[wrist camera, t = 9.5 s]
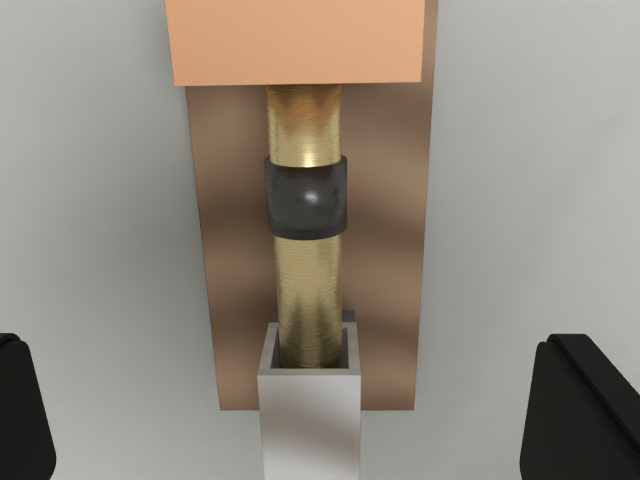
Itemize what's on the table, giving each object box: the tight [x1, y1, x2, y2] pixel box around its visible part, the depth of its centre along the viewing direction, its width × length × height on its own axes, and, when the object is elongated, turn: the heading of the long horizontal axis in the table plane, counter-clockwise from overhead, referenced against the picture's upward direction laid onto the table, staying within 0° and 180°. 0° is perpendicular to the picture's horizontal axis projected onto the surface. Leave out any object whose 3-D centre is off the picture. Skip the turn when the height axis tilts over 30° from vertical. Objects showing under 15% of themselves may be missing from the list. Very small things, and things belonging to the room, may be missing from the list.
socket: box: [165, 0, 425, 86], centre depth 20 cm, size 4×8×8 cm, turn 91°
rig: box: [185, 0, 438, 480], centre depth 25 cm, size 24×12×8 cm, turn 1°
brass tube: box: [264, 83, 347, 369], centre depth 22 cm, size 16×4×4 cm, turn 1°
